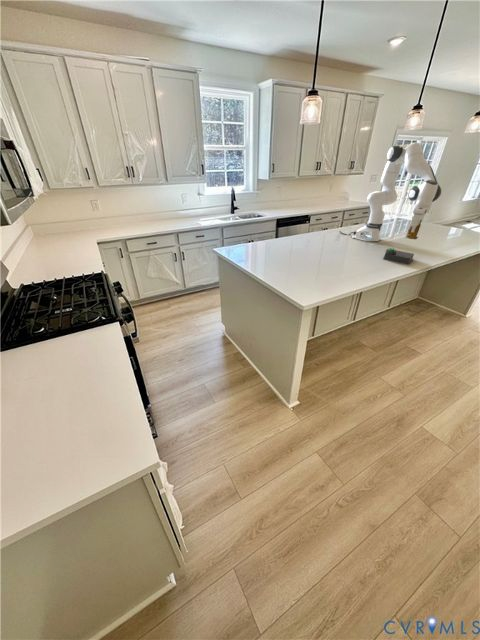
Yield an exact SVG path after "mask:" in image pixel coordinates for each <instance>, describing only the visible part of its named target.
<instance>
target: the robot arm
mask: <svg viewBox="0 0 480 640" xmlns="http://www.w3.org/2000/svg"><path fill="white" fill-rule="evenodd" d="M386 159H387V162H386V164H385V167H384V168H383V169H384V170H383V172H382V175H381V178H380V184H381V185H382V190H376V191H372V192H370V193H369V194H368V196H367V199H366V202H367V204H368V206H369V209H370V212H369V218H368V220H367V221H366V222H365V223H364V226H363V227H360V228H359V229H357V230H355V231H352V232H350V233H348V234H346V233H343V232H342V231H341V230H340V231H339V233H340V235H344V236H350V235H351V236H352V239H356V240H360V241H364V242H379V241H380V237H381V236H380V235H381V230H382V228H383V224H384V223H383V222H384V219H385V214H386V213H385V211H383V206H390V205H392V204H394V203H395V202H396V201H397V199H398V193H397V191H396V183H397V180H398V177H399V174H400V171H401V169H402V166H403V165H404V169H405V171H406V172H407V173H408V174H410V175H414V176H418V177H419V178H421V179H423V183H421V184H417V185H414V186H412V188H410V190H409V192H408V194H407V197H408V199H409V201H410V202H415V204H414V207H413V210H412V217H411V221H410V224H411V226H412V230H411V232H414V231H415V228H416V226H417V225H419V223H420V221H421V220H422V221H421V223H422V222H423V221H424V218H425V216H426V214H429V213H430V210H431V207H432V206H433V203H434V202H435V201H438V199H439V198H440V197H441V195H442V188H441V186H440V185H439V184H440V183H438V181H437V177H436V175H435V173H434V170H433V167H432V166H431V164H429V162H428V161H427V159H426V157H425V154H424V149H423V147H422V145H421V144H420V143H419V142H412V143H410V144H409V143H407V144H394V145H392V146H391V147H390V148H389V149H388V151H387V154H386Z"/></svg>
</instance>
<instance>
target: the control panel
mask: <svg viewBox="0 0 480 640" xmlns="http://www.w3.org/2000/svg"><path fill="white" fill-rule="evenodd" d="M388 250H389V248H387V249H386V250H385V254H384V256H383V260H386V261H390V262H395V263H401V264H405V265H409V264H410V263H411V262H412V260H413V259H414V257H415V253H413V252H407V251H401V250H397V249H395V250H394V251H393V252H392V251H388Z"/></svg>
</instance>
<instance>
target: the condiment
mask: <svg viewBox="0 0 480 640" xmlns="http://www.w3.org/2000/svg"><path fill="white" fill-rule="evenodd" d="M421 221H422V220H421ZM421 221H420V223H419V225H417V226H416V228H415V231H414V232H411V230H412V226H411V223H410V224H409V227H408V229H407V233H406V235H405V236H404V238H403V239H409V240H415V241H416V240H417V239H418V238H419V236H418V233H419V231H420V228H421V223H422V222H423V221H422V222H421Z"/></svg>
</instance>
